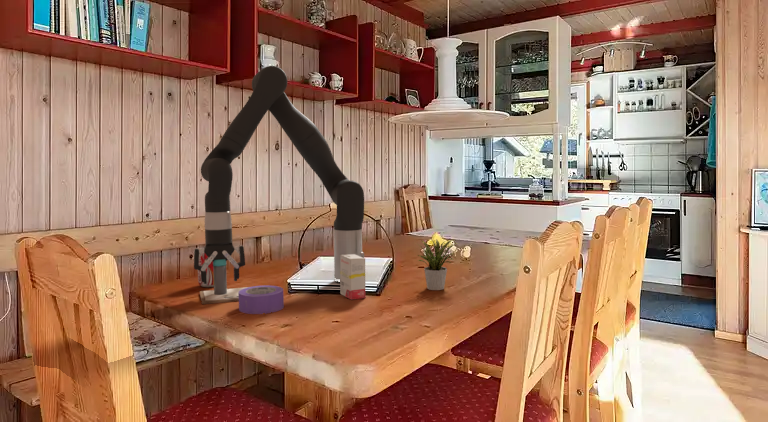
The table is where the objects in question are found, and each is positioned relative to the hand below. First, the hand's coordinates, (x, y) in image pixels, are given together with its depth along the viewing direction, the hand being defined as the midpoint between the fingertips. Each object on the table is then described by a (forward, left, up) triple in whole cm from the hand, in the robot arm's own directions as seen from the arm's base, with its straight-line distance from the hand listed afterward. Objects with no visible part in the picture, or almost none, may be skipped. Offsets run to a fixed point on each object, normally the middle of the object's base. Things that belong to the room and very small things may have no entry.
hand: (220, 282), depth 157 cm
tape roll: (-9, +18, -5) cm, 21 cm away
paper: (-4, +1, -4) cm, 6 cm away
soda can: (+2, -16, -4) cm, 17 cm away
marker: (0, 0, -3) cm, 3 cm away
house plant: (-64, +16, -4) cm, 66 cm away
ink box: (-36, +15, -4) cm, 39 cm away
